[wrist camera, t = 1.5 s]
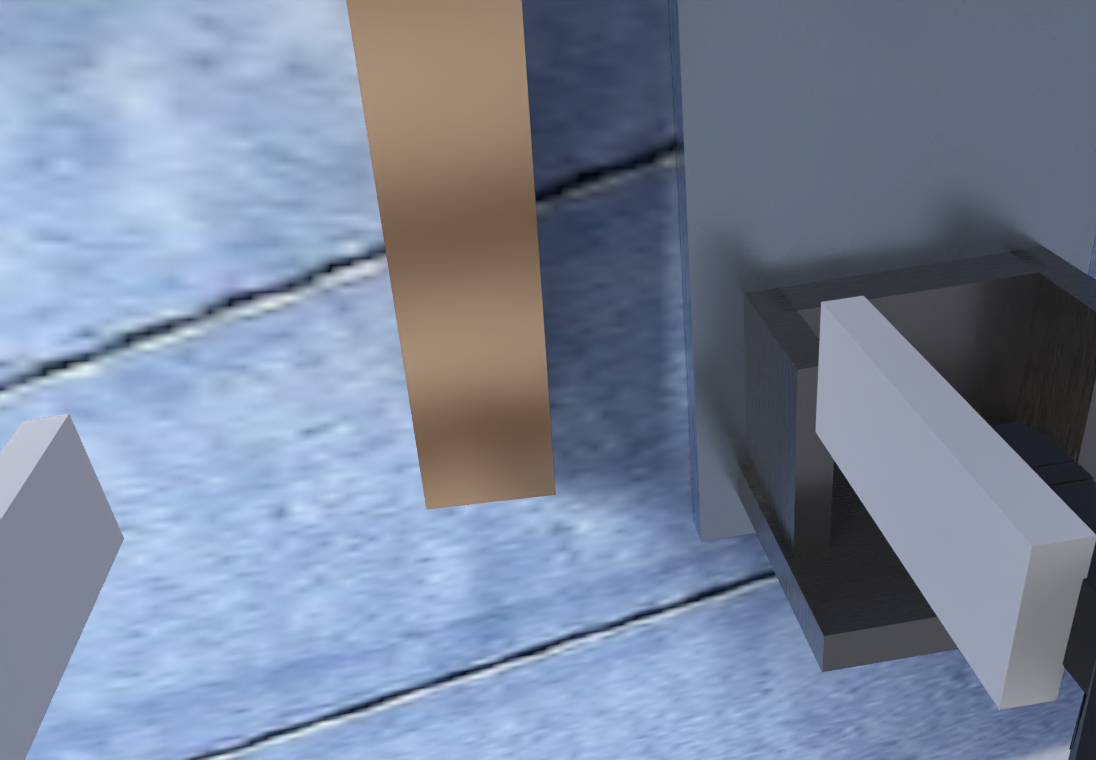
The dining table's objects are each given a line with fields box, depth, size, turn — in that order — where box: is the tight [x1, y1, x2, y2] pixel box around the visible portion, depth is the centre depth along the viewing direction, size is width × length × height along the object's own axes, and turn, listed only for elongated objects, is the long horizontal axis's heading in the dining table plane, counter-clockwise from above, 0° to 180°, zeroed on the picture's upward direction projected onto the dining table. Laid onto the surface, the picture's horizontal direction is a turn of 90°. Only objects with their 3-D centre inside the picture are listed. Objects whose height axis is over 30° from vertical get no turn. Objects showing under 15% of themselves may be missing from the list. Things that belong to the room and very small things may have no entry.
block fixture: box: [669, 0, 1096, 672], centre depth 25 cm, size 32×14×10 cm, turn 7°
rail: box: [346, 0, 556, 509], centre depth 27 cm, size 18×4×6 cm, turn 3°
